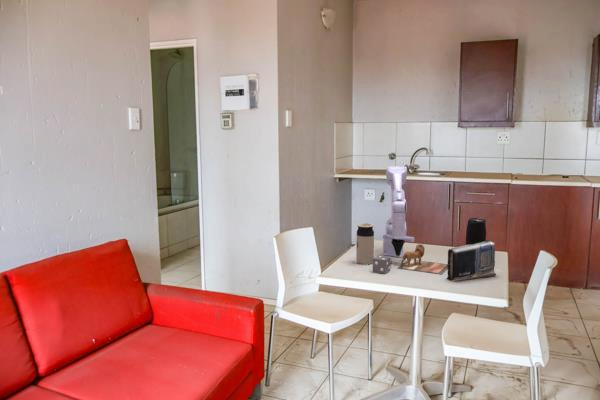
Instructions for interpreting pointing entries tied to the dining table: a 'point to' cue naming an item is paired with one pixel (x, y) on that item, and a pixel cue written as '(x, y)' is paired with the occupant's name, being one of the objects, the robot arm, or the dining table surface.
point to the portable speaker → (475, 231)
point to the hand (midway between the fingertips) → (398, 255)
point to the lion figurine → (414, 255)
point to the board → (425, 267)
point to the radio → (471, 261)
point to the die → (381, 264)
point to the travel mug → (365, 243)
